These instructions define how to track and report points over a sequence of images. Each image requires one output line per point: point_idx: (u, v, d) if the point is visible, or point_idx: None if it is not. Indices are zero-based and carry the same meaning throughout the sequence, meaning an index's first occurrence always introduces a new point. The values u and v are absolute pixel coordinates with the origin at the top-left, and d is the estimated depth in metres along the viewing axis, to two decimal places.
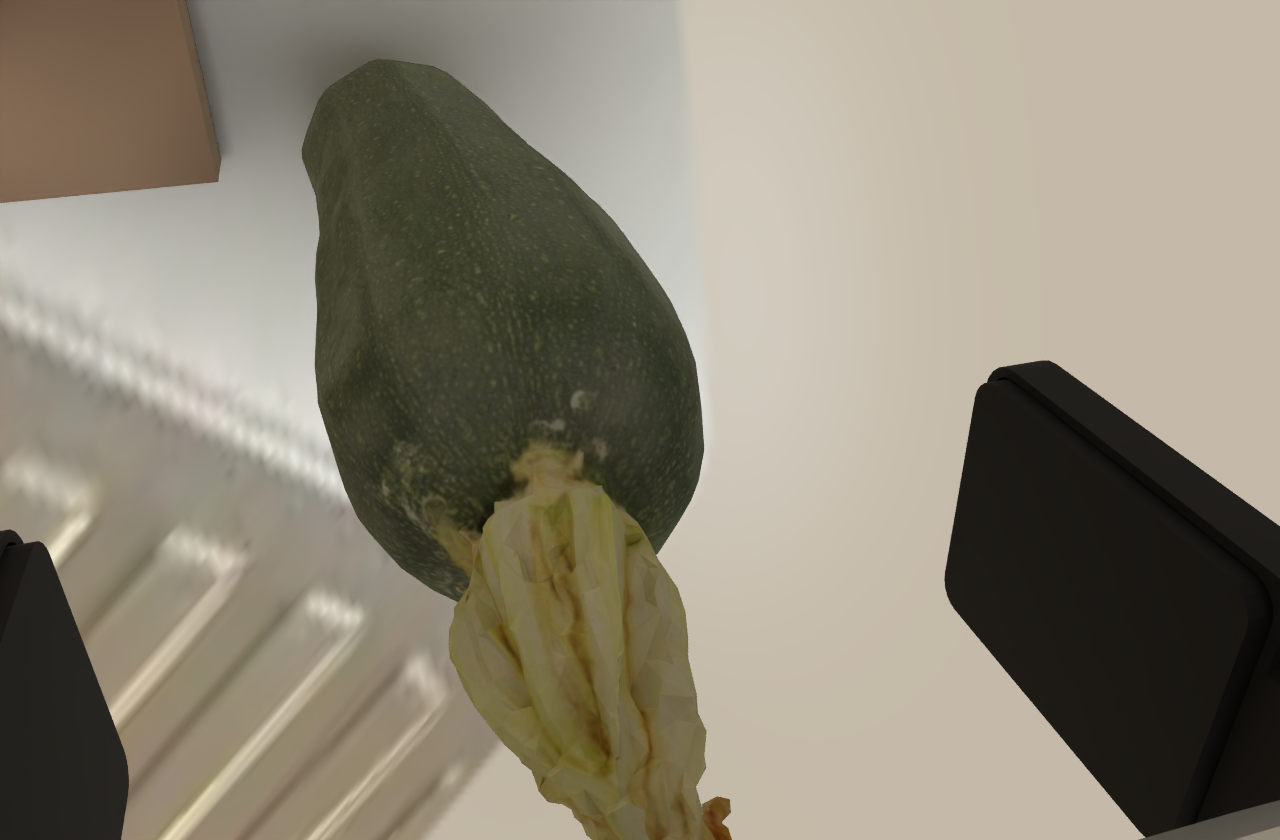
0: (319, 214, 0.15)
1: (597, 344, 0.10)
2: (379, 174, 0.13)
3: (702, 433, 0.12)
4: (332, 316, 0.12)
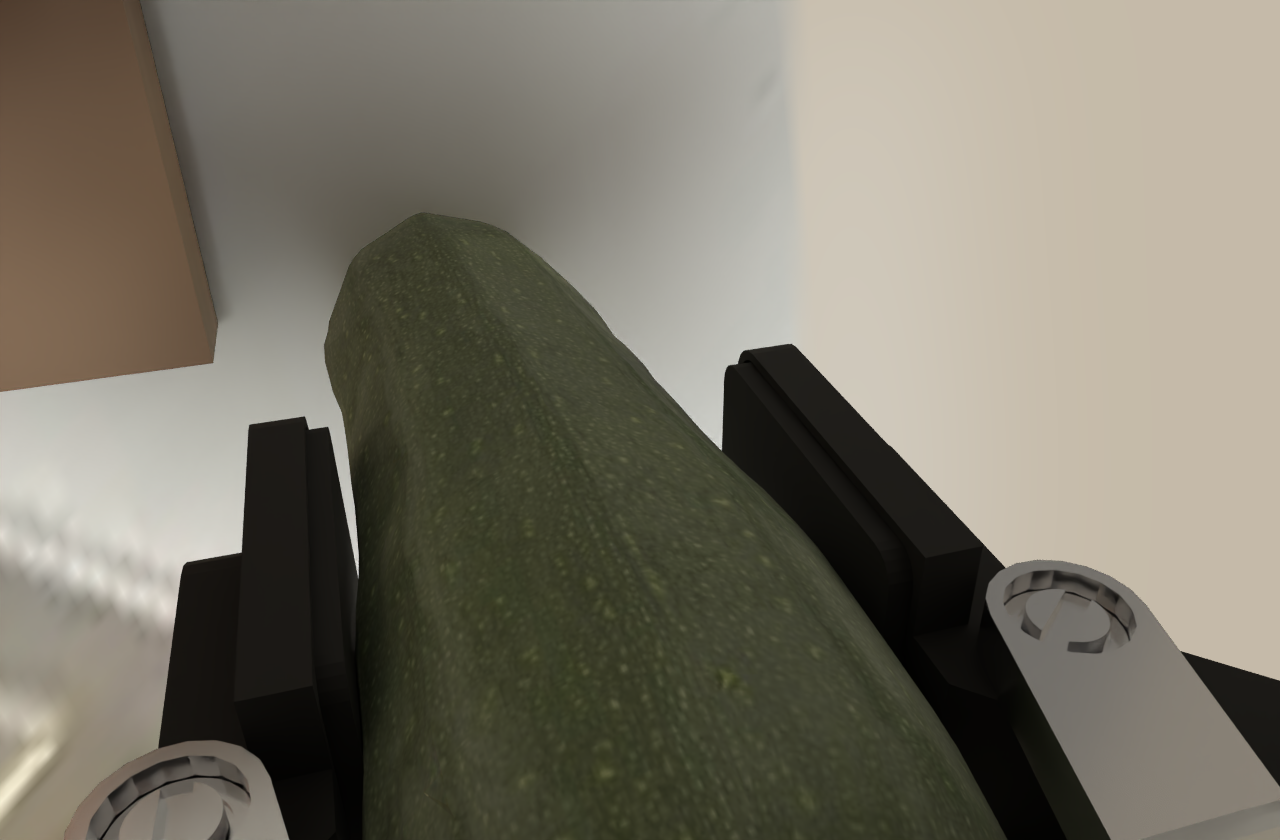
0: (356, 511, 0.10)
1: None
2: (460, 509, 0.08)
3: None
4: (394, 823, 0.07)
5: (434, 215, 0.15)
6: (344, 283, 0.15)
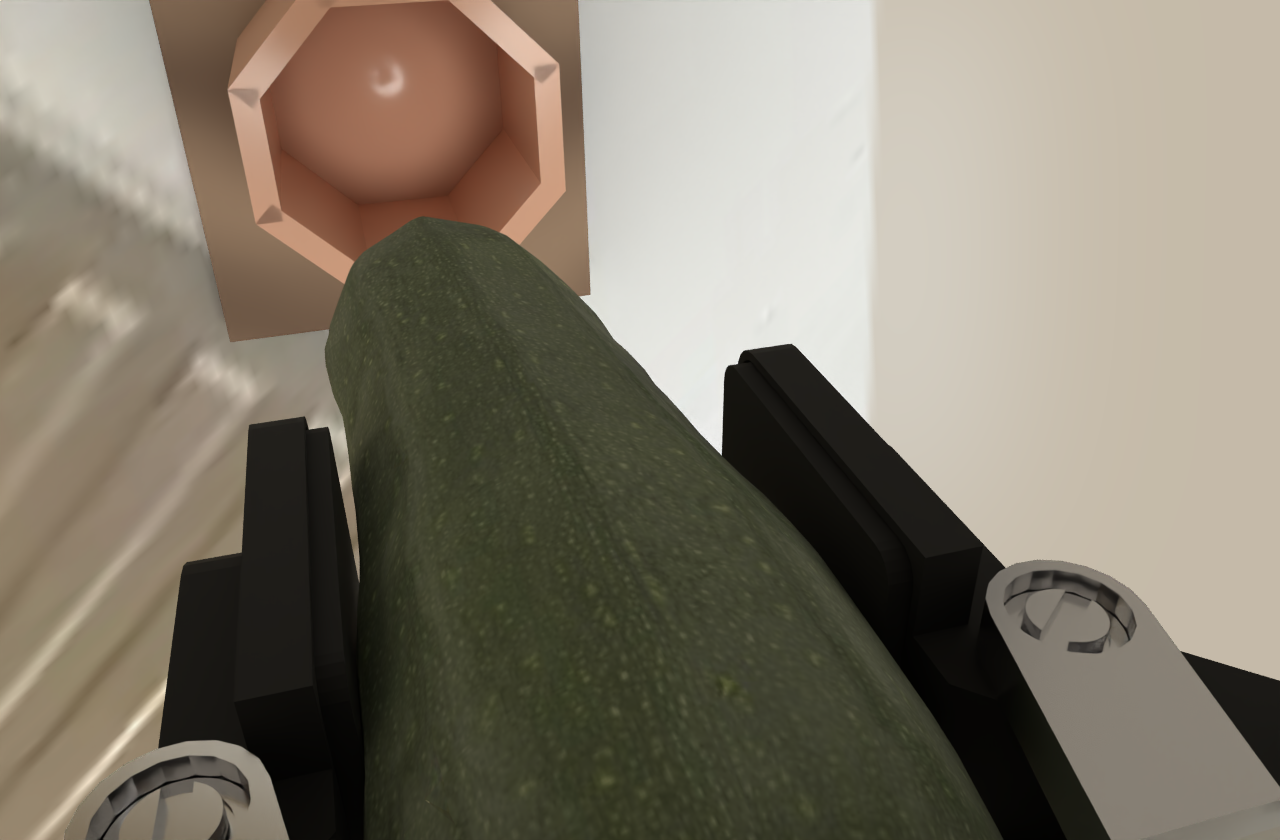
0: (357, 516, 0.10)
1: None
2: (462, 514, 0.08)
3: None
4: (396, 829, 0.07)
5: (434, 219, 0.16)
6: (345, 287, 0.15)
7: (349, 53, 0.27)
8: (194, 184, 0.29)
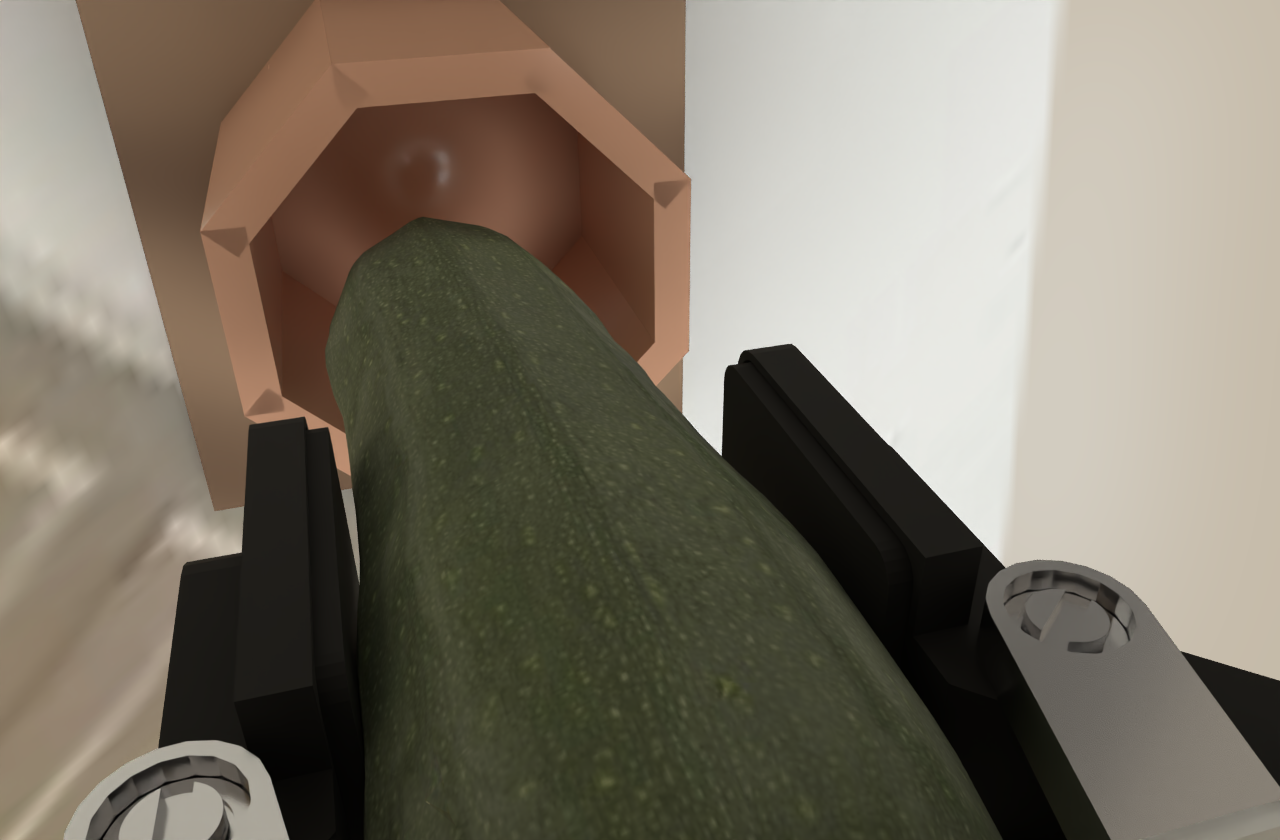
0: (357, 517, 0.10)
1: None
2: (462, 516, 0.08)
3: None
4: (396, 830, 0.07)
5: (434, 219, 0.16)
6: (345, 287, 0.15)
7: (376, 143, 0.20)
8: (163, 315, 0.21)
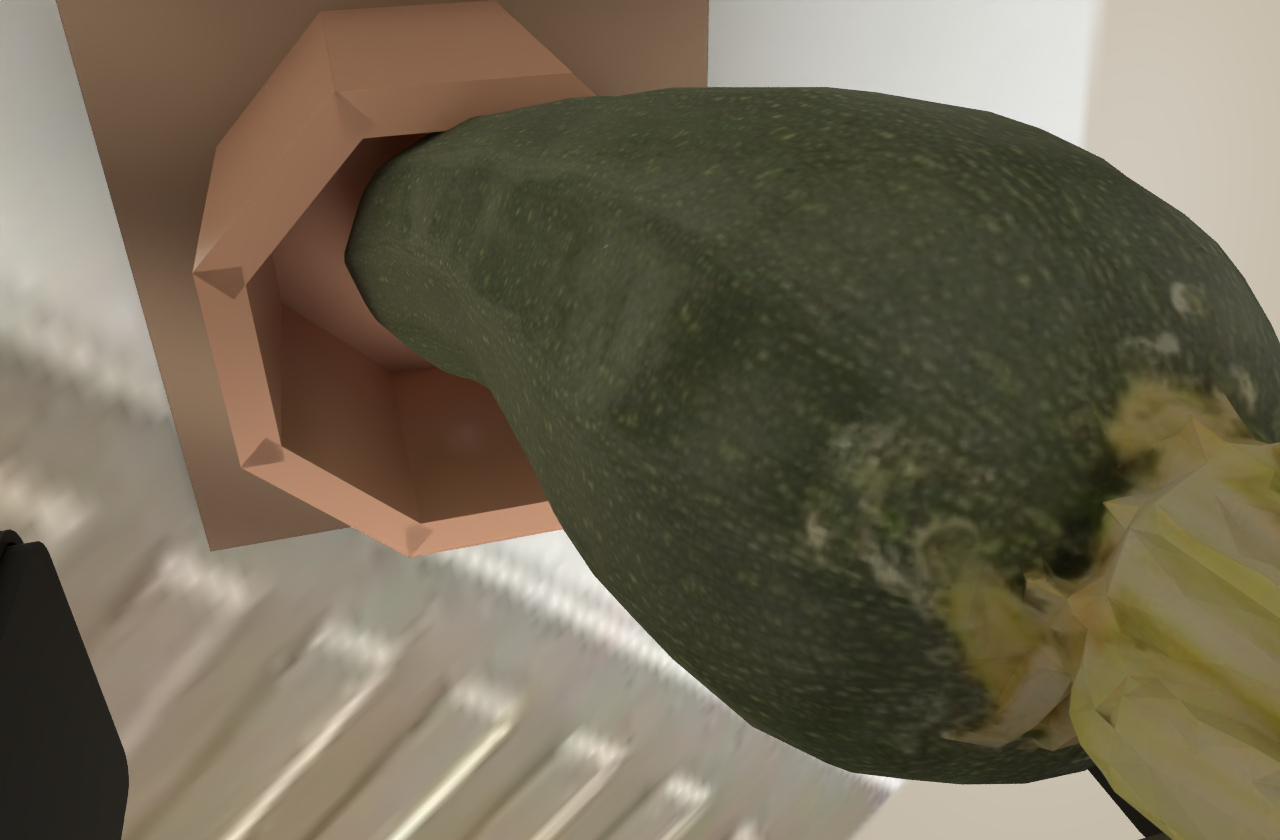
0: (436, 257, 0.10)
1: (1158, 217, 0.05)
2: (566, 141, 0.09)
3: None
4: (570, 304, 0.07)
5: None
6: (362, 197, 0.15)
7: None
8: (156, 349, 0.20)
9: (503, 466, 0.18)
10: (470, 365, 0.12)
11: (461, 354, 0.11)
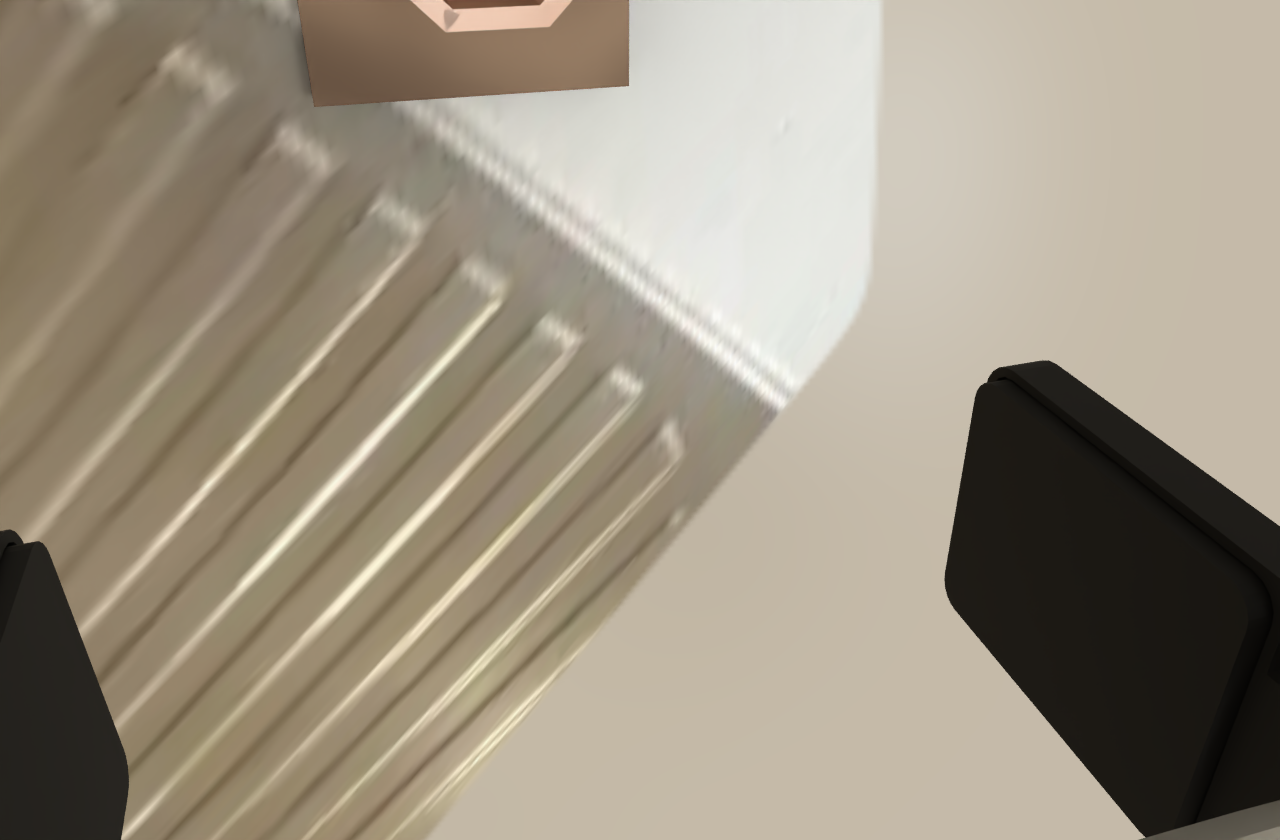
0: None
1: None
2: None
3: None
4: None
5: None
6: None
7: None
8: None
9: None
10: None
11: None
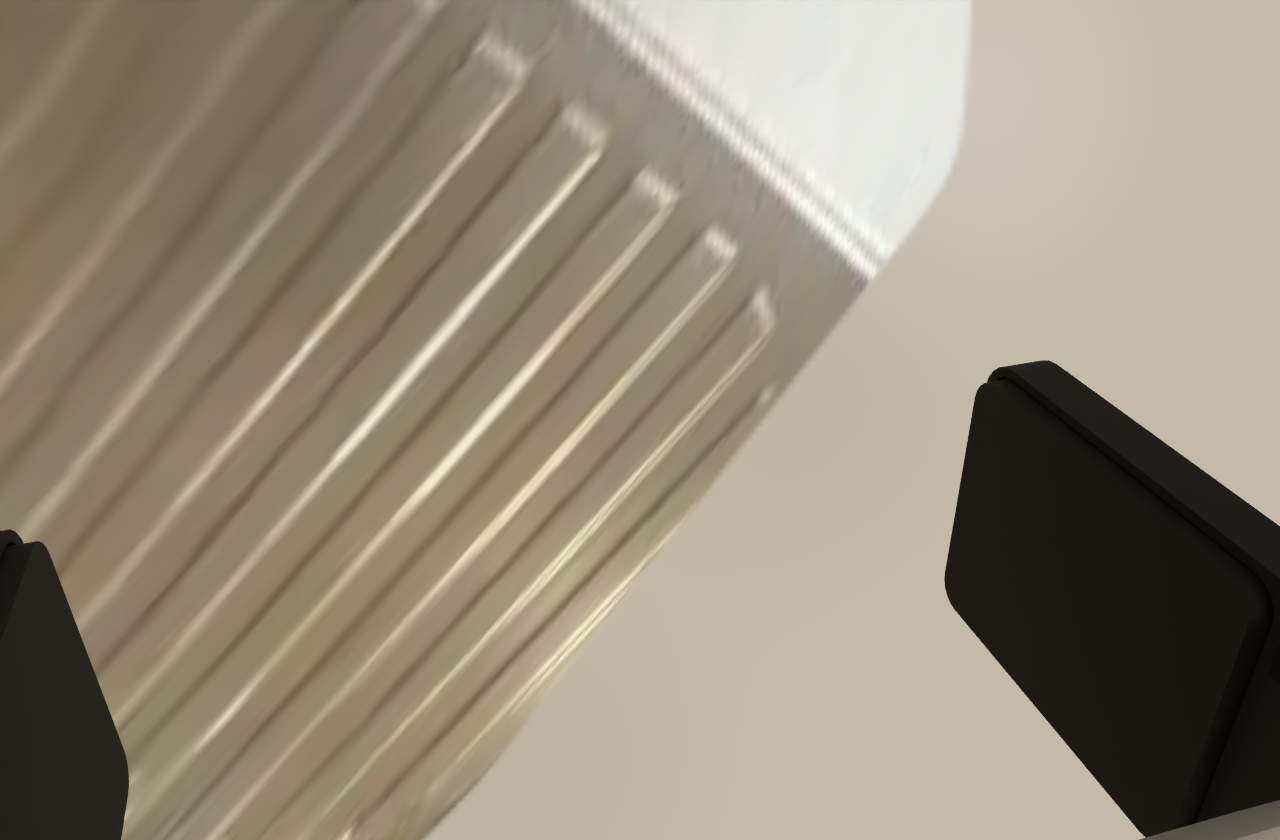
0: None
1: None
2: None
3: None
4: None
5: None
6: None
7: None
8: None
9: None
10: None
11: None
